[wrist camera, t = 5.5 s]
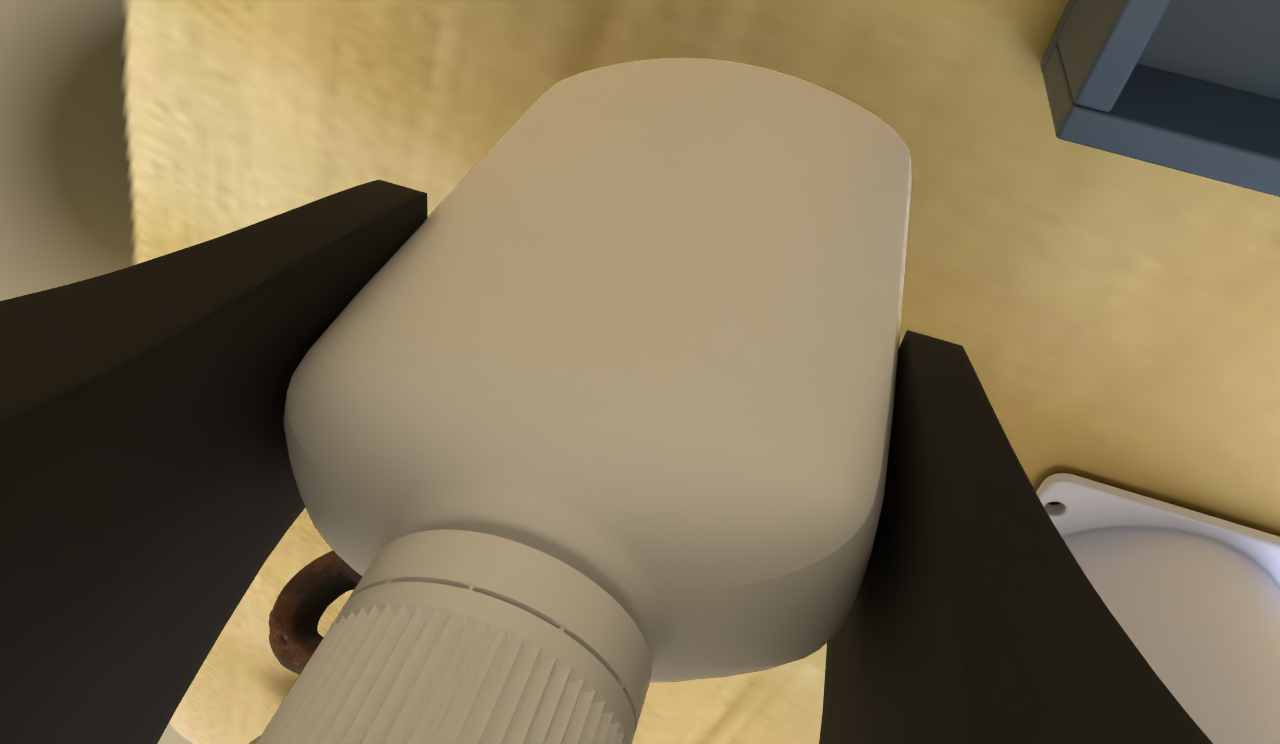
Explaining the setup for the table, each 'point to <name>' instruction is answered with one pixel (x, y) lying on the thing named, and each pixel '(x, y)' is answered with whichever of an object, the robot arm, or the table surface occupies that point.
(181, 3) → the table surface
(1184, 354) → the table surface
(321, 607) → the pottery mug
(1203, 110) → the tray
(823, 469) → the eye dropper bottle
